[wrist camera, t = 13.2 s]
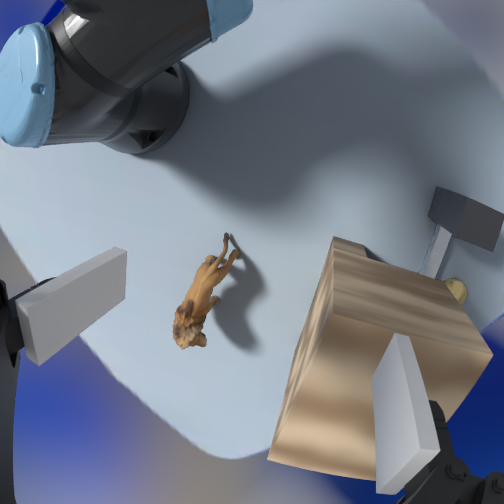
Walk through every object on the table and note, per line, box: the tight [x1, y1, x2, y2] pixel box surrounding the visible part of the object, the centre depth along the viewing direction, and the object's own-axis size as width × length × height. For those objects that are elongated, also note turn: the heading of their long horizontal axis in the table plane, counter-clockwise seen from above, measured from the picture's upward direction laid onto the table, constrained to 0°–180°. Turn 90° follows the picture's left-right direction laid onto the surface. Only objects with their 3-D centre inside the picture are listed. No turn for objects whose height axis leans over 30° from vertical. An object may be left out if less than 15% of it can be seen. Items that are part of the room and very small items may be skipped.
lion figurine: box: [173, 233, 240, 350], centre depth 41 cm, size 15×5×9 cm, turn 164°
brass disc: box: [444, 278, 467, 306], centre depth 36 cm, size 4×4×1 cm
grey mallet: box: [419, 186, 504, 279], centre depth 32 cm, size 22×5×10 cm, turn 167°
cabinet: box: [267, 236, 493, 481], centre depth 32 cm, size 18×15×20 cm
